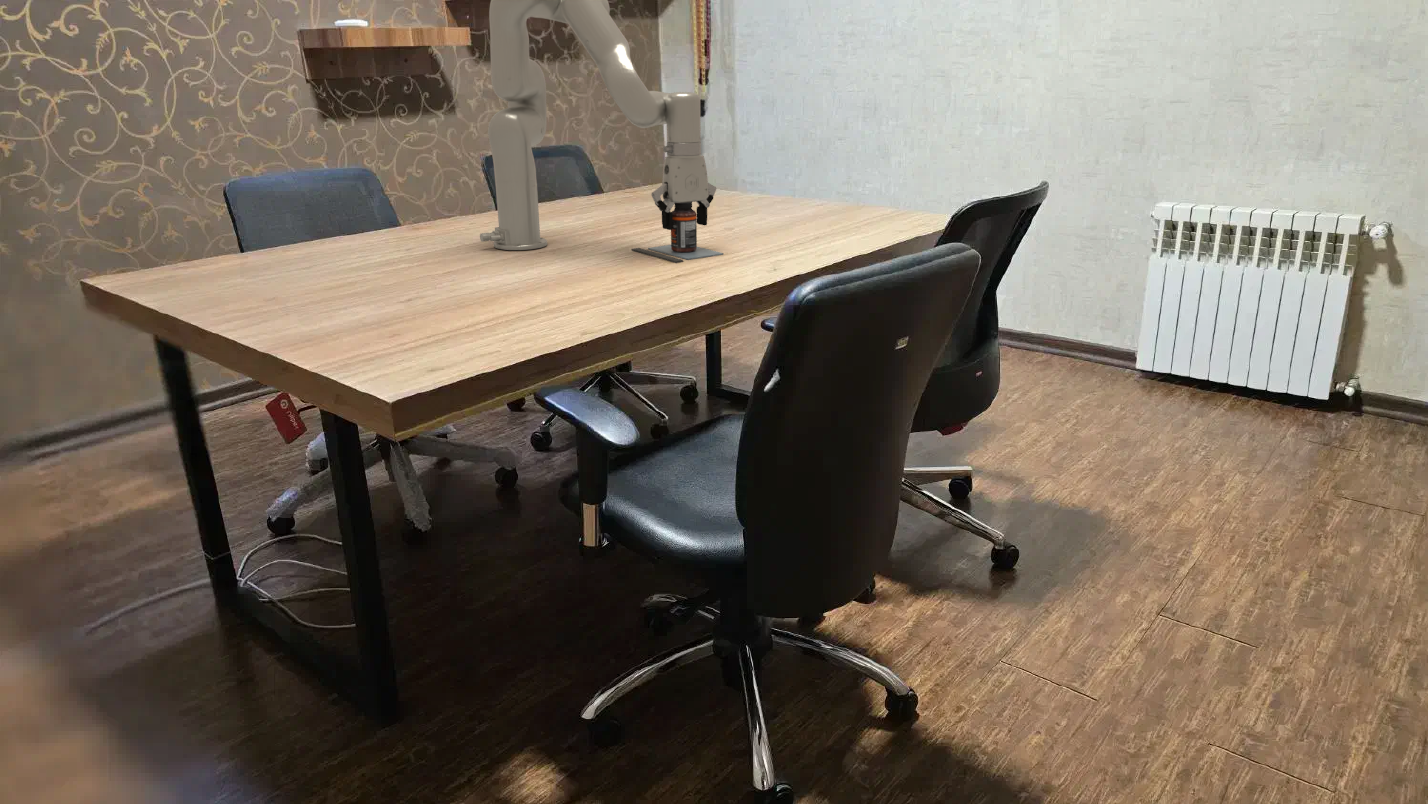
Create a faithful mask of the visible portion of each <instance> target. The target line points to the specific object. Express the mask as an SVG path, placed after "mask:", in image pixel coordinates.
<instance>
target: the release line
mask: <svg viewBox="0 0 1428 804" xmlns="http://www.w3.org/2000/svg"><path fill="white" fill-rule="evenodd" d="M631 251H632V252H636V253H640V254H643V255H646V256H649V257H650V256H651V257H653V258H656V259H661V260H664V261H667V262H670V263H675V264H678V263H683V262H684V260H683V259H682V258H679V257H675V256H671V255H668V254H664V253H660V252H657V251H653V250H650V249H644V248H642V247H641V248H640V247H635V248H631Z"/></svg>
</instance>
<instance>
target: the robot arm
mask: <svg viewBox="0 0 1428 804" xmlns="http://www.w3.org/2000/svg"><path fill="white" fill-rule="evenodd" d="M609 3H610V2H609V0H490V3H489V13H488V14H489V15H488V16H489V33H490V34H489V35H490V36H489V37H490V39H489V41H490V46H489V47H490V50H489V51H490V77H491V79H490V81H491V87H492V90H493V92H494V94H495V95H496V97H498V98H499V99H501V100H502V101H506V102H507V107H506V108H503V109H501V110H499V111H497V112H496V113H495V114H494V115H493V116H492V117H491V118H490V120H489V123H488V126H487V127H488V129H487V135H488V136H487V137H488V143H489V146H490V150H491V155H492V162H493V171H494V172H493V173H494V181H495V184H494V185H495V194H496V206H497V208H496V209H497V220H498V226H497V227H496V226H495V227H494V230H492V231H491V232H482V233H480V234H479V239H480V242H489V241H490V242H493V248H495V249H497V250H498V249H499V250H504V251H527V250H535V249H536V250H537V249H541V248H544V247H547V245H548V239H546V238H545V237H544V238H543V237H541V228H540V227H541V226H540V225H541V224H540V212H539V196H538V194H539V193H538V181H537V168H536V163H535V157H534V154H533V149H532V148H534V147H535V146H537V145H539V144H540V143H541V142H542V141H543V140H544V137H545V136H546V133H547V122H548V121H547V118H548V116H547V82H546V78H545V73H544V71H543V69H542V68H541V65H539V63H538V62H536V60H534V59H531V58H530V39H529V31H528V26H527V20H528V19H529V18H536V19H546V20H550V21H555V22H559V23H563V24H568V25H569V27H570V28H571V30H572V31H573V32H574V35H575V36H576V37H577V38H578V40H579V42H580V43H581V44H582V46H583V47H584V49H585V50H586V51H587V53H588V55H589V56H590V57H591V59H592V60H593V63H594V64H595V65H596V67H597V69H598V72H599V74H600V77H601V79H602V81H603V83H604V85H605V88H606V90H608V93H609V95H610V97H611V98H612V99H613V100H614V102H615V104H616V105H617V107H618V108H619V109H620V111H621V112H622V115H624V117H625V118H626V119H627V120H628V122H630V123H631V124H632V125H633V126H635V127H637V128H640V129H648V128H652V127H656V126H659V125H660V126H661V125H666V145H664V146H663V148H662V149H663V150H662V151H663V152H664V153H666V155H667V156H665V158H664V162H663V167H662V168H663V169H662V181H661V182H662V184H661V185H660V186H659V187H657V189H655V190H653V191H652V192H651V194H650V195H651V197H652V199H653V201H654V205H655V206H657V208H658V209H659V211H660V212H661V226H662V228H663V229H665V230H669V231H671V230H672V229H673V213H672V211H671V210H672V209H673V207H674V206H675V203H687V202H692V203H695V202H696V204H697V205H698V206H696V219H697V220H696V221H697V225H701V226H707V225H708V209H709V208H710V204H711V203H712V201H713V200H714V196H715V194H716V191H717V187H716V186H715V185H714V184H711V183H710V182H708V181H709V180H708V171H707V165H706V160H705V157H704V155H701V153H702V152H701V151H702V150H701V149H702V148H701V146H702V144H701V140H702V139H701V135H702V133H701V129H702V128H701V97H700V95H699V94H698V93H696V92H692V91H691V92H690V91H689V92H687V91H685V92H684V91H679V92H678V91H676V92H675V91H674V92H664V91H657V90H648V88H647V87H646V85H645V83H644V82H643V81H642V79H641V78H640V76H639V75H638V72H637V71H636V70H635V66H634V65H633V63H632V58H631V48H630V44H629V41H628V40H627V38H626V37H625V36H624V34H623V33H622V31H621V29H620V28H619V27H618V25H617V24H616V22H615V21H614V19H613V18H612V16H611V15H610V11H611V8H610V4H609ZM662 199H663V200H662Z"/></svg>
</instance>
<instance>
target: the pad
mask: <svg viewBox="0 0 1428 804" xmlns="http://www.w3.org/2000/svg"><path fill="white" fill-rule="evenodd" d="M647 248H648V249H647V250H649V251H652V252H656V253H660V254H663V255H667V256H671V257H674V258H678V259H681V260H683V259H684V260H686V261H689V260H697V259H703V258H710V257H717V256H721V255H722V256H723V255H724V252H720V251H716V250H712V249H708V248H704V247H700V246H697V249H696V250H695V251H693V252H686V253H685V252H675V251H673V250H672V249H671V244H665V245H660V246H652V247H647Z"/></svg>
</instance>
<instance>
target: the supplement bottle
mask: <svg viewBox="0 0 1428 804" xmlns="http://www.w3.org/2000/svg"><path fill="white" fill-rule="evenodd" d="M673 207H674V208H673V210H672V211H671V212H672V213H673V229H672V230H670V245H671V249H672V250H673V251H675V252H685V253H686V252H693V251H695V250H696V249H697V247H698V244H697V242H698V240H697V237H698V235H697V233H698V232H697V230H698V229H697V227H698V226H697V225H698V224H697V211H695V210H694V209H692V208H693V202H687V203H675V204H674V205H673Z"/></svg>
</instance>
